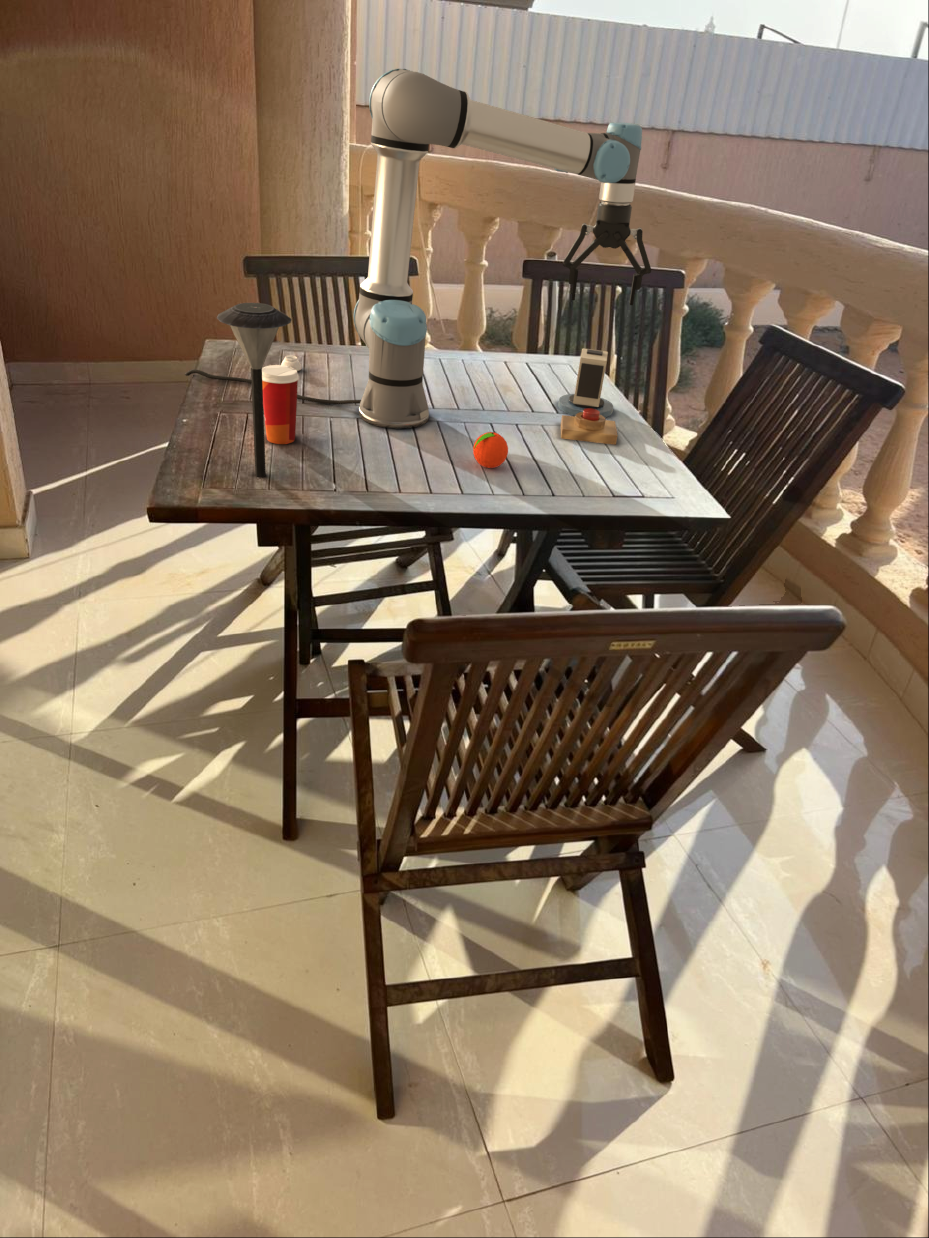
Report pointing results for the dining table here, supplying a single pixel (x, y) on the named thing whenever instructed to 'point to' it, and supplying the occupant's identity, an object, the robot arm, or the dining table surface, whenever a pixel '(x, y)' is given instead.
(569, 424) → the button block
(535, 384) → the dining table surface
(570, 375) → the dining table surface
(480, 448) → the clementine
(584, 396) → the panel
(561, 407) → the swivel base
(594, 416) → the button
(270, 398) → the paper cup
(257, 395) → the solar garden light
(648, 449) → the dining table surface
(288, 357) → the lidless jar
